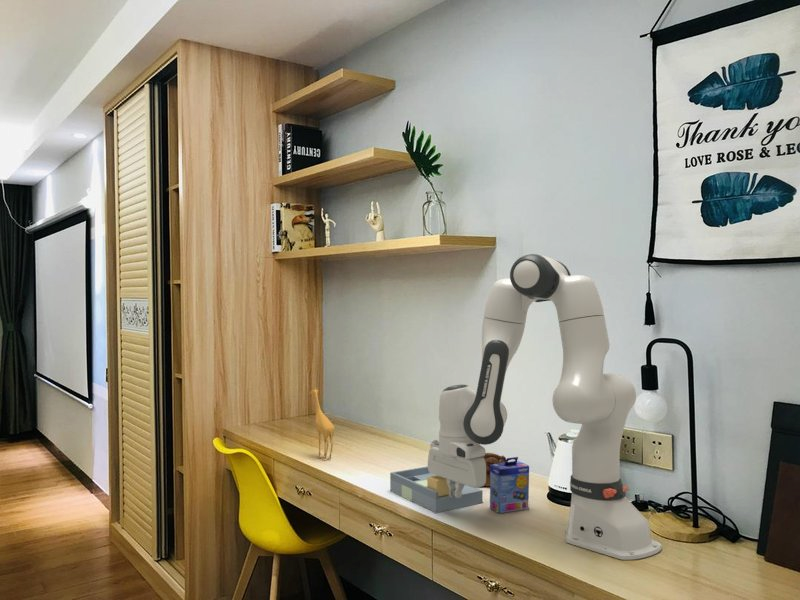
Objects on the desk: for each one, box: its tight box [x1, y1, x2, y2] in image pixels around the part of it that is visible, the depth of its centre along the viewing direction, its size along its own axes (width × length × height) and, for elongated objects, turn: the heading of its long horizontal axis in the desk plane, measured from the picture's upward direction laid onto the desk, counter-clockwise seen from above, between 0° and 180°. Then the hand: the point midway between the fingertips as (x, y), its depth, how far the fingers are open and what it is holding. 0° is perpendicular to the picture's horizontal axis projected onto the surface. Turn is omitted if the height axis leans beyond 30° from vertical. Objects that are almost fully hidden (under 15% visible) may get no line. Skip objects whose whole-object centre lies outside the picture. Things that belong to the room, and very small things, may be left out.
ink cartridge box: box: [489, 456, 530, 514], centre depth 182 cm, size 10×6×14 cm, turn 113°
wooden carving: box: [482, 452, 507, 487], centre depth 204 cm, size 16×5×10 cm, turn 99°
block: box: [427, 475, 450, 497], centre depth 183 cm, size 4×4×5 cm
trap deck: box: [389, 465, 483, 514], centre depth 193 cm, size 24×16×6 cm, turn 32°
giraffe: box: [309, 387, 335, 460], centre depth 241 cm, size 16×4×25 cm, turn 35°
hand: (455, 496), depth 178 cm, fingers closed
